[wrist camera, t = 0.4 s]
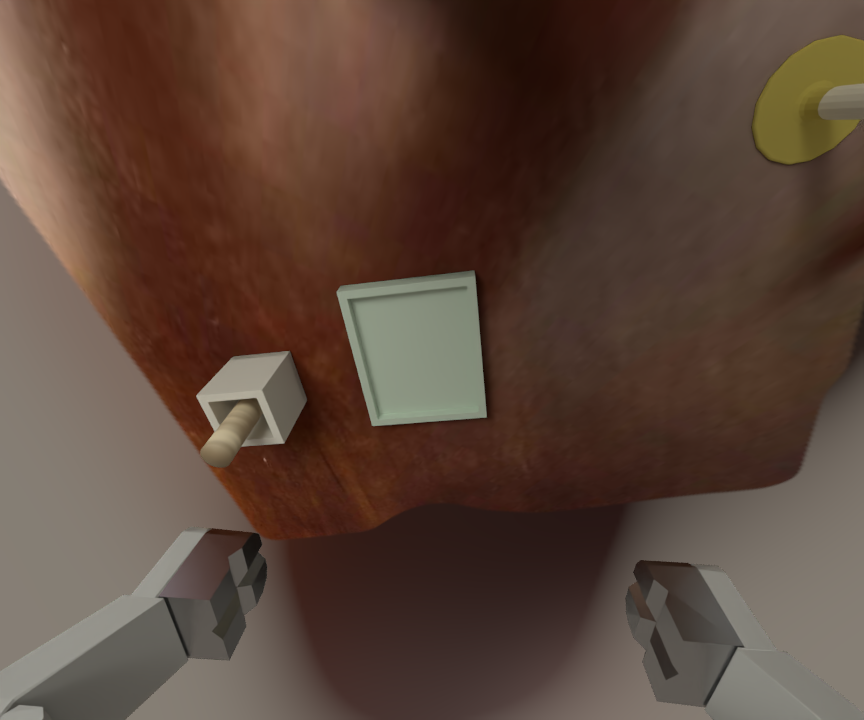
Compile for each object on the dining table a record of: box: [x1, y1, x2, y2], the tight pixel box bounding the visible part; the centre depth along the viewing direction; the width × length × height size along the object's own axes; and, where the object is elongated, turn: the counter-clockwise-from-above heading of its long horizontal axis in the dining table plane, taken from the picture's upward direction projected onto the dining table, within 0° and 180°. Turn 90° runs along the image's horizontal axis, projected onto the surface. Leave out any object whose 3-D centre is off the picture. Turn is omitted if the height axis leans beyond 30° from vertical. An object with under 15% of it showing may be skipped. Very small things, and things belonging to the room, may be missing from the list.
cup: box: [196, 351, 307, 447], centre depth 51 cm, size 8×8×9 cm
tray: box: [337, 271, 487, 426], centre depth 51 cm, size 20×16×2 cm
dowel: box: [201, 398, 263, 467], centre depth 48 cm, size 3×3×14 cm
